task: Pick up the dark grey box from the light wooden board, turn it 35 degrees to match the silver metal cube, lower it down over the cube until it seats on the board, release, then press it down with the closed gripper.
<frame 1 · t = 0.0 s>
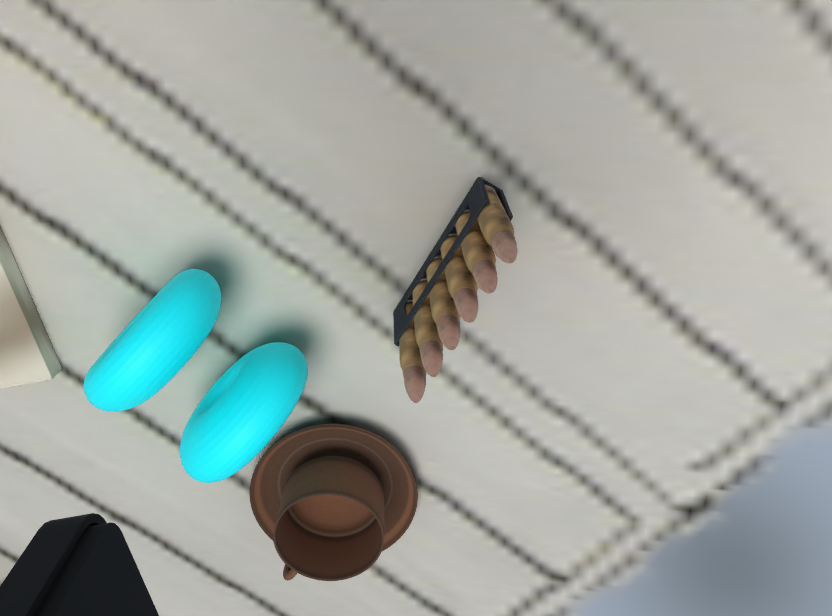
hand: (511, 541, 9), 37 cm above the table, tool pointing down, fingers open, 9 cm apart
ammunition clip: (445, 253, 46), on the table
donuts: (219, 338, 48), on the table
cup and saucer: (336, 479, 53), on the table
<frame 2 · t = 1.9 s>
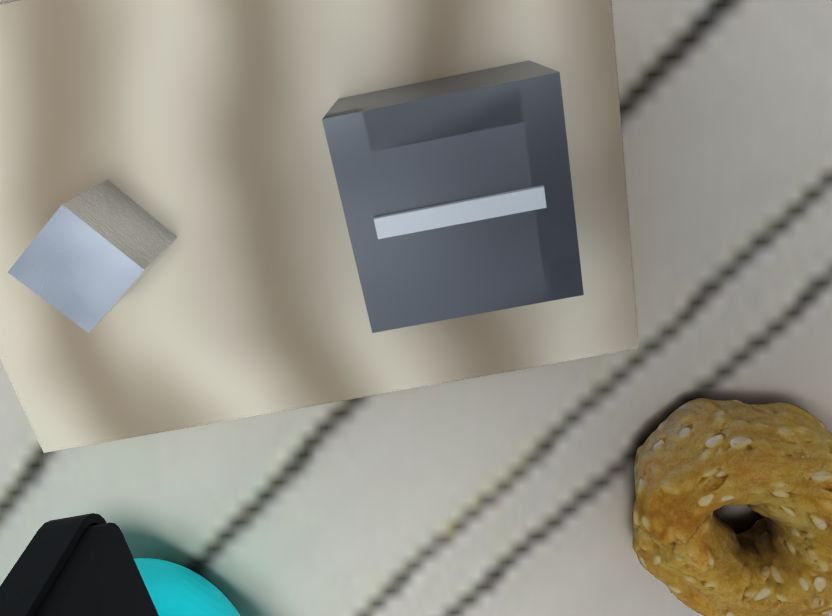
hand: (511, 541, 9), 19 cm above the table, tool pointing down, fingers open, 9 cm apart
board: (287, 196, 26), on the table
dark grey box: (449, 174, 25), point 1 cm above the table, touching board
bagel: (724, 483, 32), on the table
silver metal cube: (117, 238, 25), resting on board
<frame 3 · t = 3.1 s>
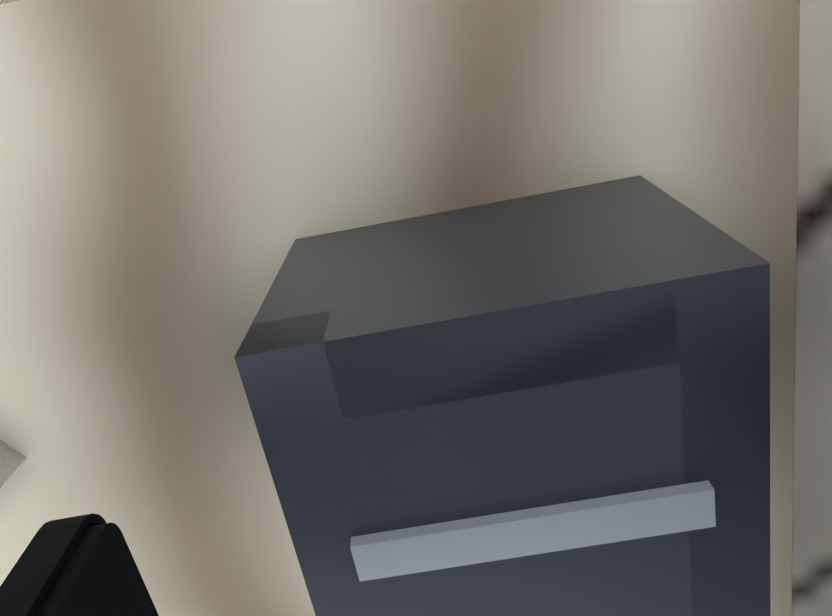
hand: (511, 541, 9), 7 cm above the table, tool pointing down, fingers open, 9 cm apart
board: (219, 377, 16), on the table
dark grey box: (490, 361, 14), point 1 cm above the table, touching board
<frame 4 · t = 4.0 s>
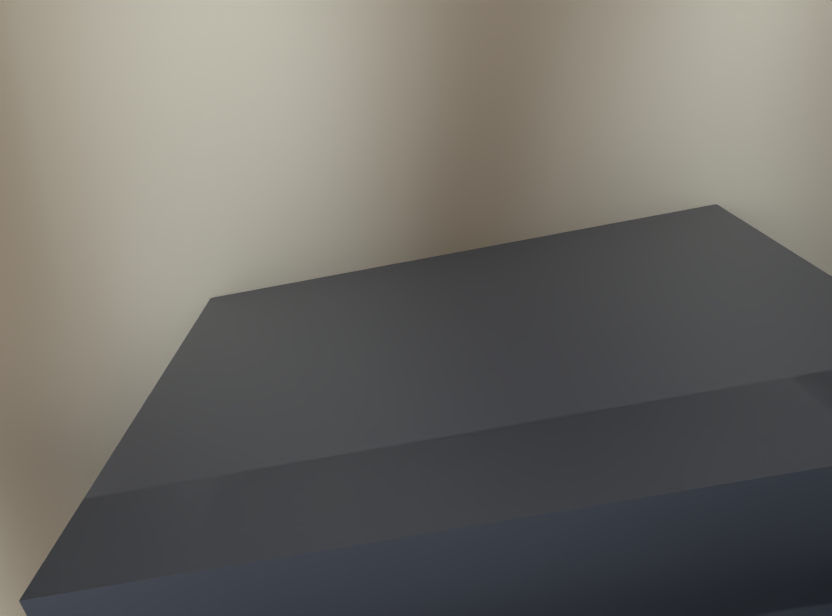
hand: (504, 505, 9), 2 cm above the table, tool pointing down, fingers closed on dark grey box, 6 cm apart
board: (126, 469, 12), on the table
dark grey box: (495, 461, 10), point 2 cm above the table, touching board, gripper
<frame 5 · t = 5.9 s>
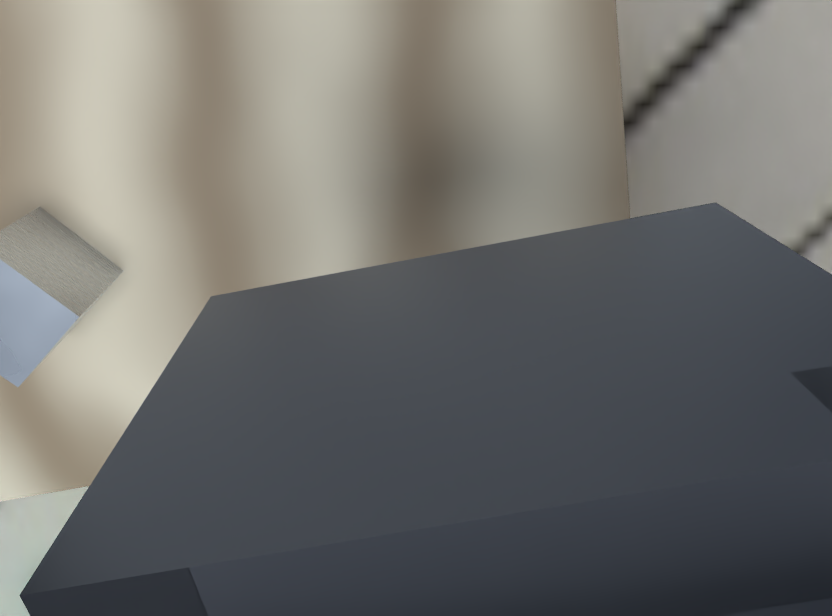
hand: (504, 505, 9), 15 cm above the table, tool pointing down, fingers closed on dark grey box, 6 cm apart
board: (249, 222, 24), on the table
dark grey box: (495, 460, 10), point 14 cm above the table, touching gripper
silver metal cube: (55, 272, 22), resting on board
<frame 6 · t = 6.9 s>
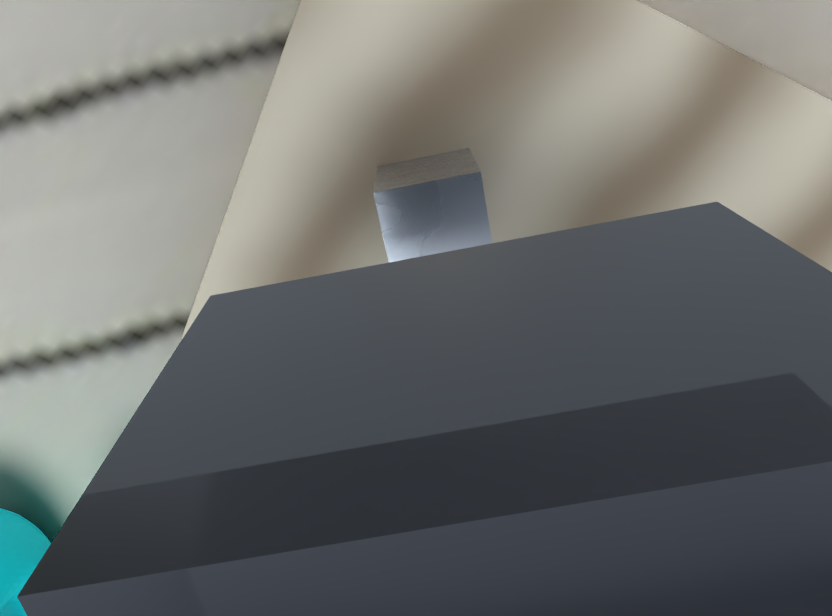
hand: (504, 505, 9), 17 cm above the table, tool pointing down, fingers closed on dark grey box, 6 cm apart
board: (580, 257, 26), on the table
donuts: (117, 535, 30), on the table
dark grey box: (495, 460, 10), point 16 cm above the table, touching gripper
silver metal cube: (431, 202, 23), resting on board
when the fingers open (4 cm above the table, at t = 9.5 s): dark grey box drops 2 cm, resting on board.
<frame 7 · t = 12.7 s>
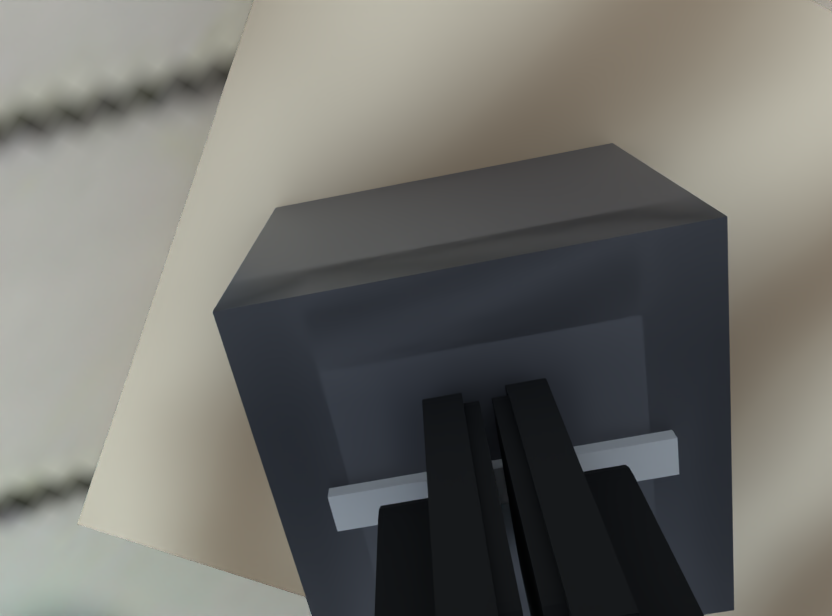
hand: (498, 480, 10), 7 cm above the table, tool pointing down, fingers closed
board: (686, 394, 17), on the table
dark grey box: (468, 328, 15), point 1 cm above the table, touching board, gripper
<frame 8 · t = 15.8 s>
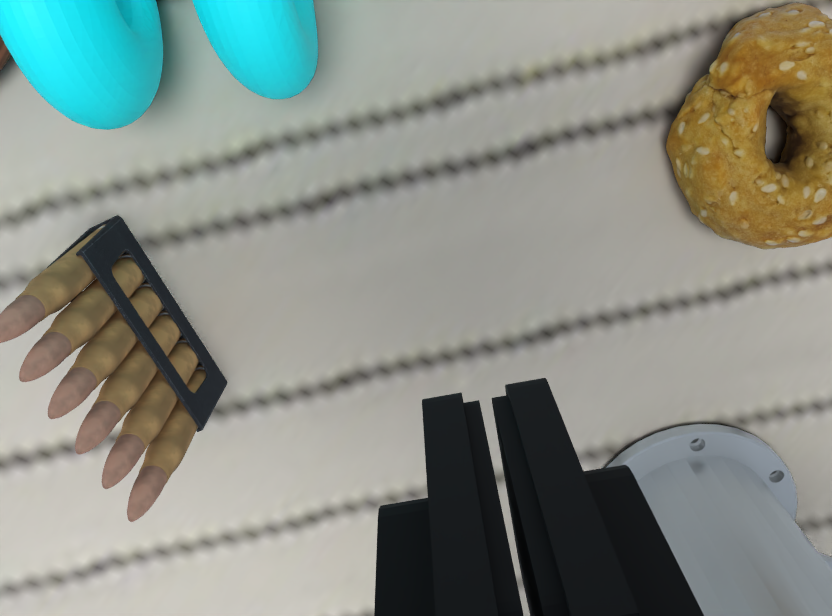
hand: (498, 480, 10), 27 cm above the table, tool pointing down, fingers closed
ammunition clip: (162, 308, 38), on the table
bagel: (759, 124, 35), on the table
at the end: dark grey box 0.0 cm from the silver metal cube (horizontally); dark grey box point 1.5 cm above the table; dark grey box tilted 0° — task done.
